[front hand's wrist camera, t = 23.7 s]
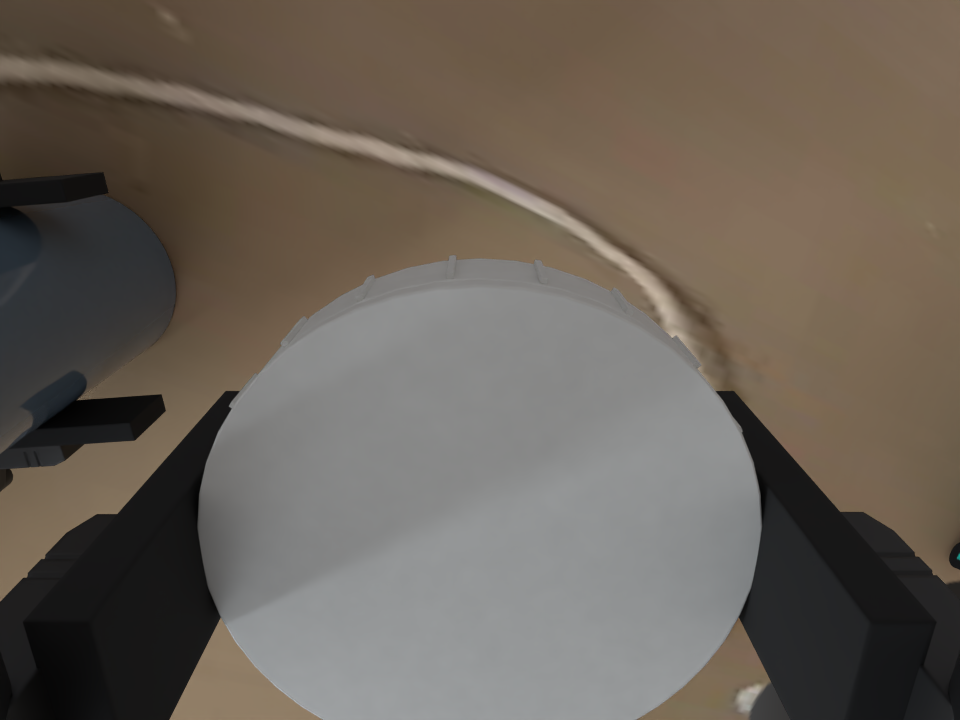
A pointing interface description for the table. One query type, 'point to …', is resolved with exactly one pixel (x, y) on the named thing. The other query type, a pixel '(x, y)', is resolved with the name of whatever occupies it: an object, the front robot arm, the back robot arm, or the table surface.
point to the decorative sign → (955, 557)
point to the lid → (479, 503)
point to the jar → (74, 304)
